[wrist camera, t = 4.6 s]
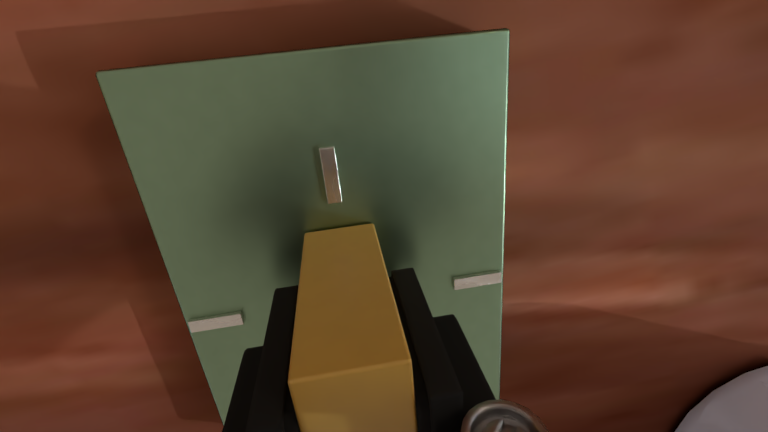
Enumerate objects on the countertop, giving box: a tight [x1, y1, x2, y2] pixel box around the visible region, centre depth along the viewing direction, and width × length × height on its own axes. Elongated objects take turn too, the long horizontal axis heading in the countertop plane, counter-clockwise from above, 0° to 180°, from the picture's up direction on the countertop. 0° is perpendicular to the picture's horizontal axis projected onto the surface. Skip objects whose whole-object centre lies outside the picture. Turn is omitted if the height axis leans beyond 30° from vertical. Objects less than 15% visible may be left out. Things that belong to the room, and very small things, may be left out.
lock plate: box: [96, 28, 510, 425], centre depth 12 cm, size 13×9×2 cm
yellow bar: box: [288, 223, 418, 432], centre depth 9 cm, size 4×2×5 cm, turn 6°
